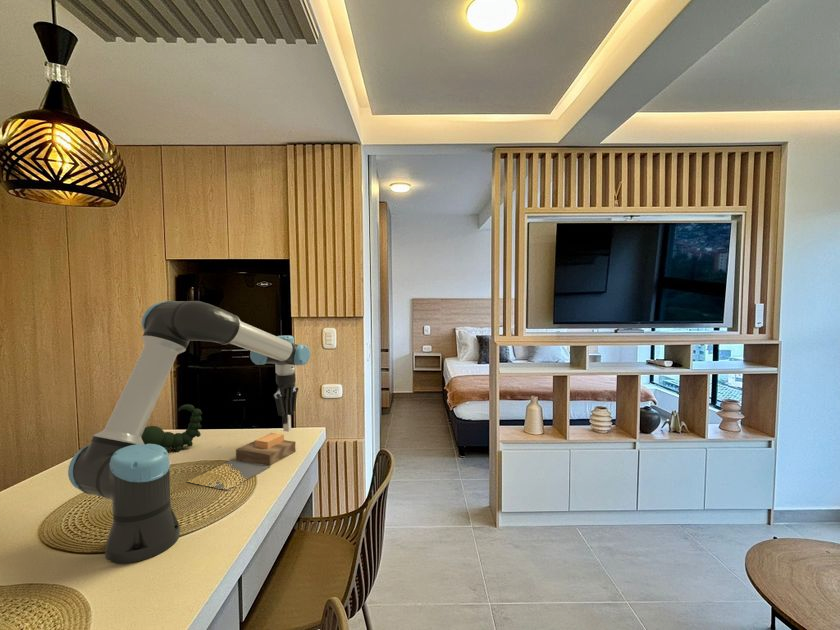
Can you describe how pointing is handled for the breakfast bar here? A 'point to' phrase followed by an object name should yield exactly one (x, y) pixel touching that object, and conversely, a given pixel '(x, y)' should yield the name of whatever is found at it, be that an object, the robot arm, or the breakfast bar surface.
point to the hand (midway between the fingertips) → (287, 430)
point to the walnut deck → (265, 453)
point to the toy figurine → (179, 439)
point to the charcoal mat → (243, 470)
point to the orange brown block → (269, 440)
